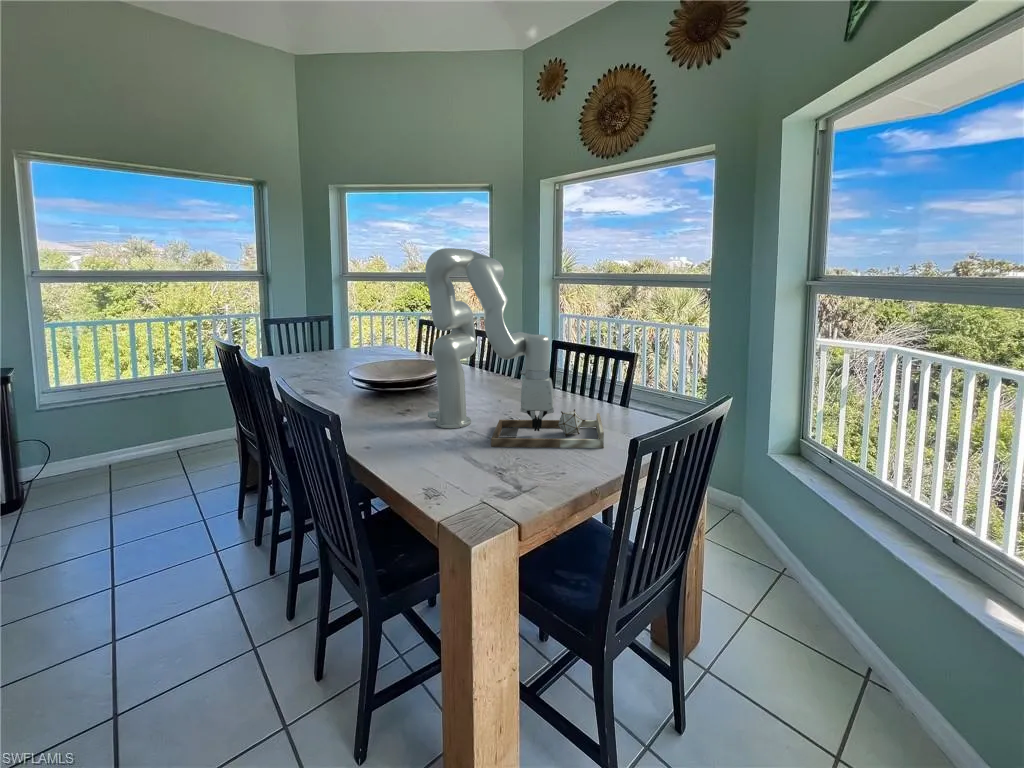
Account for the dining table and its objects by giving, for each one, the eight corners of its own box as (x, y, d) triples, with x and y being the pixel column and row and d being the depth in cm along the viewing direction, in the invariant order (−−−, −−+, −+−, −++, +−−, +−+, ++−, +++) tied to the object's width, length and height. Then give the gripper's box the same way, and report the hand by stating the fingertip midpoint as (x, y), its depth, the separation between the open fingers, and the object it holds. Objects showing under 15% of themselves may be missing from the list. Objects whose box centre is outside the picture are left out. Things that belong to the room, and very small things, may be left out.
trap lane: (491, 446, 154) (490, 431, 153) (499, 426, 173) (499, 412, 172) (603, 448, 150) (603, 432, 149) (599, 427, 170) (599, 413, 168)
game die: (575, 446, 163) (585, 428, 156) (550, 437, 163) (559, 418, 156) (580, 426, 169) (590, 408, 162) (556, 417, 169) (565, 398, 162)
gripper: (512, 376, 155) (512, 433, 159) (561, 377, 153) (560, 434, 157) (514, 371, 162) (515, 425, 166) (561, 372, 160) (560, 426, 165)
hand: (537, 429), depth 162 cm, fingers closed
